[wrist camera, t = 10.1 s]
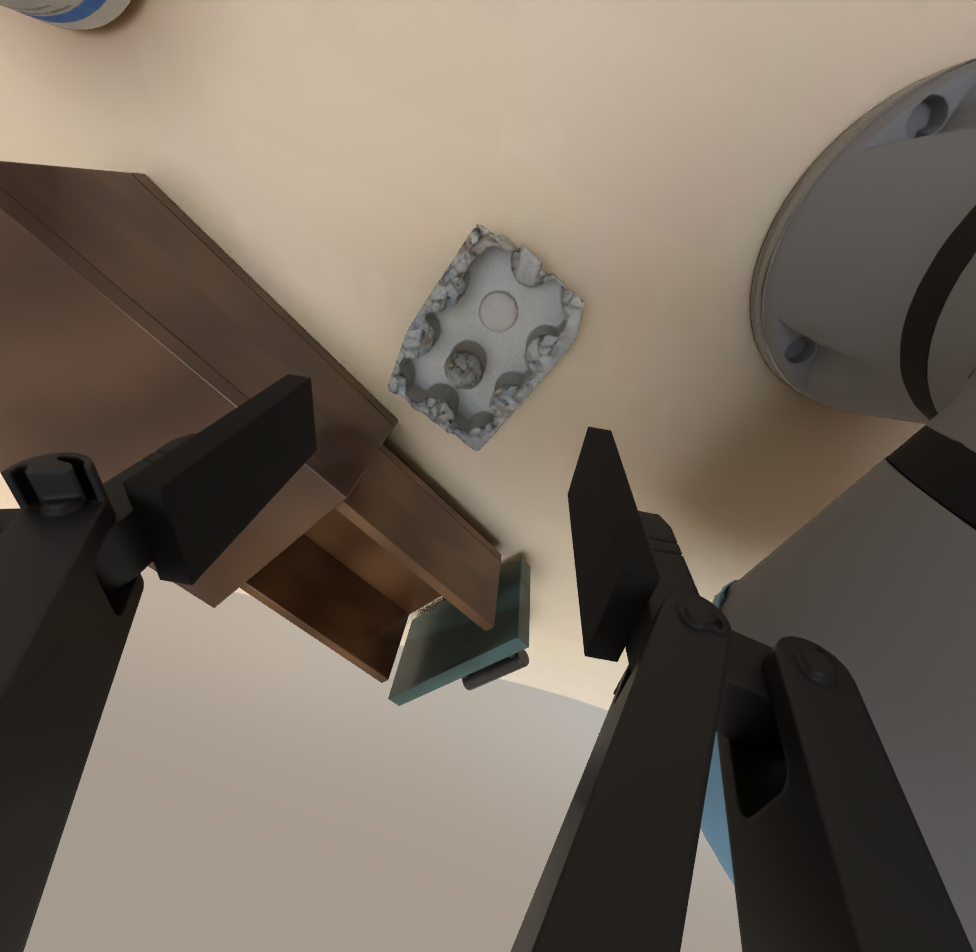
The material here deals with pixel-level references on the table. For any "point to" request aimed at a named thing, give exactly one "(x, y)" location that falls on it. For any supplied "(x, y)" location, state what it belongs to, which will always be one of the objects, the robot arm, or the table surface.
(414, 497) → the drawer
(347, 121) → the table surface
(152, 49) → the table surface
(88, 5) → the supplement tub
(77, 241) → the cabinet
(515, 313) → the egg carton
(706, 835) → the robot arm
